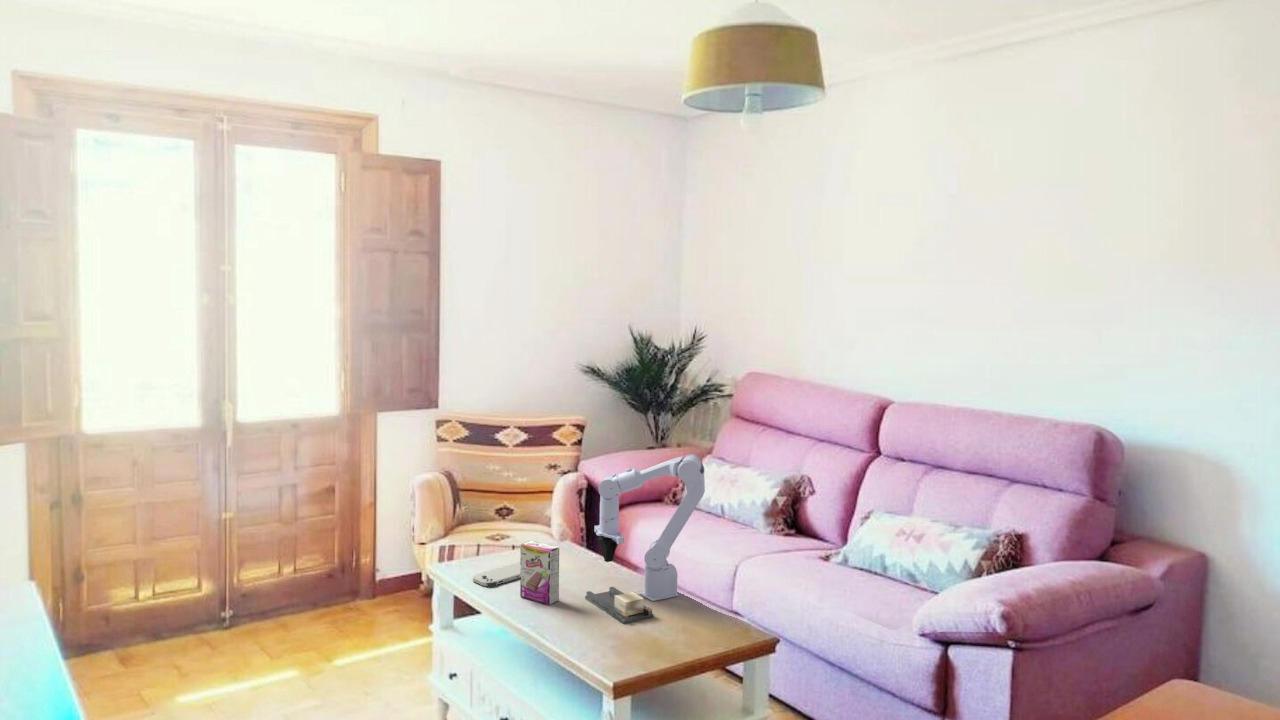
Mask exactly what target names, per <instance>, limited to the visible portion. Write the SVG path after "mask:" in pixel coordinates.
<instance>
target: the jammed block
mask: <svg viewBox="0 0 1280 720" xmlns="http://www.w3.org/2000/svg"><path fill="white" fill-rule="evenodd" d="M644 599H645V598H643V597H642V596H640V595H639V594H638V593H635V592H633V591H631V592H626V593H624V594H620V595H615V601H614V607H616V608H617V609H619V610H620V611H622V612H623V613H624V612H625V613H627V614H628V615H634V614H638V613H643V611H644V606H645V604H644V601H645V600H644Z"/></svg>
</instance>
